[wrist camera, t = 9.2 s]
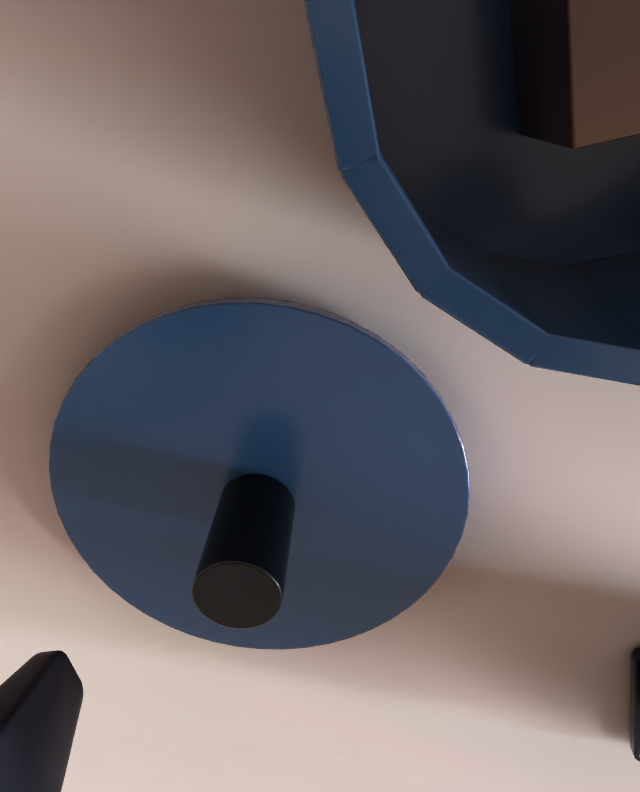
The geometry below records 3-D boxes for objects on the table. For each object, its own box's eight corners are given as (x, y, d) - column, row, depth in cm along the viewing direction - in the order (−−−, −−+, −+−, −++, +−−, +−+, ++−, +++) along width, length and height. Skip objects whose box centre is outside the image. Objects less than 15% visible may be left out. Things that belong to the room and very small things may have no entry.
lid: (323, 673, 24) (317, 807, 20) (8, 525, 22) (-83, 641, 17) (551, 436, 19) (615, 545, 14) (169, 197, 16) (98, 239, 12)
